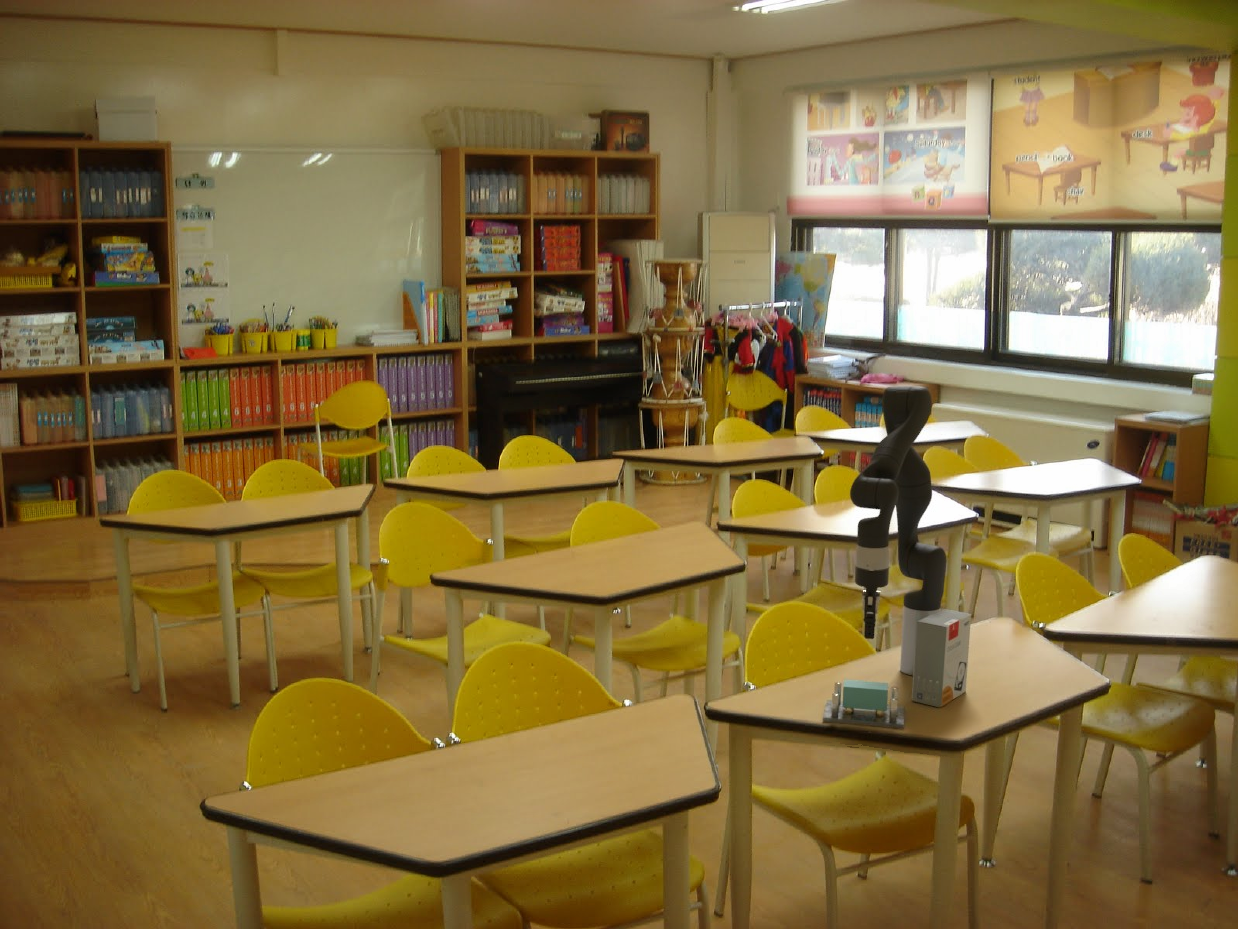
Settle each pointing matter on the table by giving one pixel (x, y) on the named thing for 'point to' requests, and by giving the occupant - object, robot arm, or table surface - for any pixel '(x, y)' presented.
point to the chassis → (864, 712)
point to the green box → (865, 695)
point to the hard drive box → (941, 657)
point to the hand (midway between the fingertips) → (869, 632)
